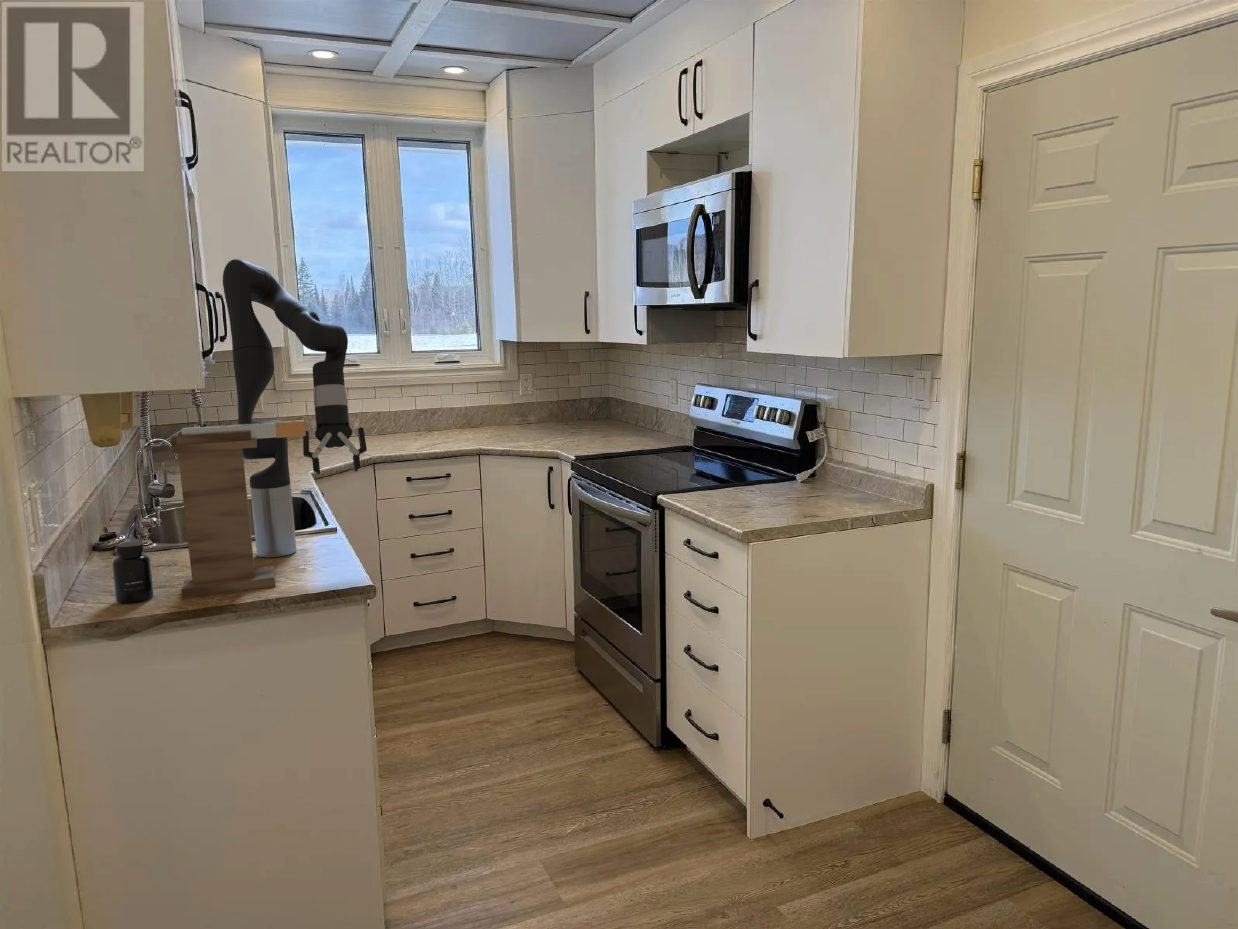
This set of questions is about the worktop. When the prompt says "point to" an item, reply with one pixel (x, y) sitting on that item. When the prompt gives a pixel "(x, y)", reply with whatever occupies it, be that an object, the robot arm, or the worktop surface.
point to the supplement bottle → (132, 574)
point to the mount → (217, 514)
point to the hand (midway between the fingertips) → (337, 472)
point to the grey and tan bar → (255, 429)
